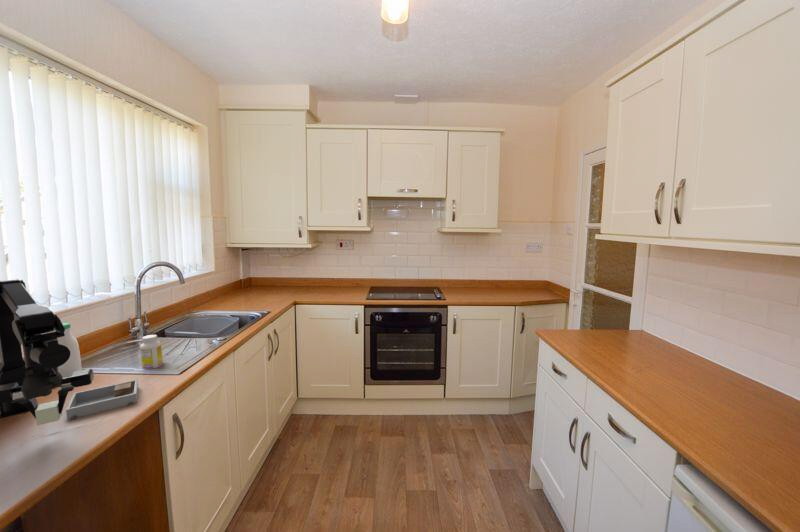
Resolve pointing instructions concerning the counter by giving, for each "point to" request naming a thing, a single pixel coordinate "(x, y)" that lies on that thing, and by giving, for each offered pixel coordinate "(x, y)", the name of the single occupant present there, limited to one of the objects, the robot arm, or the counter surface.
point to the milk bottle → (74, 358)
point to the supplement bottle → (151, 352)
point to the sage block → (47, 413)
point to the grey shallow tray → (99, 400)
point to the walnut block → (123, 389)
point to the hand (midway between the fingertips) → (49, 415)
